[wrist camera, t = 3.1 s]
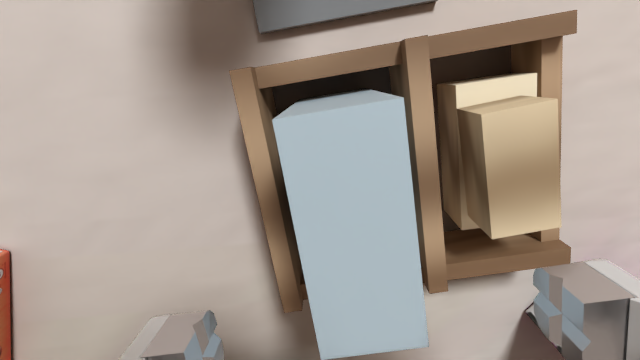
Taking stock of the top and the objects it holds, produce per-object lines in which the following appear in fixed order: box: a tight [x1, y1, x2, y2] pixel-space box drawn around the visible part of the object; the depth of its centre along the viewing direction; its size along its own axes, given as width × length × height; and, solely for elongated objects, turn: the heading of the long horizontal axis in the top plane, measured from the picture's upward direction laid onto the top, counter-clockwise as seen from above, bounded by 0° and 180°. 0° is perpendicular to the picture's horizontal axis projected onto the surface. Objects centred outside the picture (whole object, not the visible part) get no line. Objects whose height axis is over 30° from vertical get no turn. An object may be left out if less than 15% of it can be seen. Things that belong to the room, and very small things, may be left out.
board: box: [272, 88, 429, 360], centre depth 17 cm, size 9×4×11 cm, turn 10°
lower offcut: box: [436, 73, 537, 230], centre depth 20 cm, size 8×4×4 cm, turn 9°
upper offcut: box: [457, 95, 561, 239], centre depth 17 cm, size 6×3×3 cm, turn 12°
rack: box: [229, 10, 577, 313], centre depth 20 cm, size 13×16×5 cm
